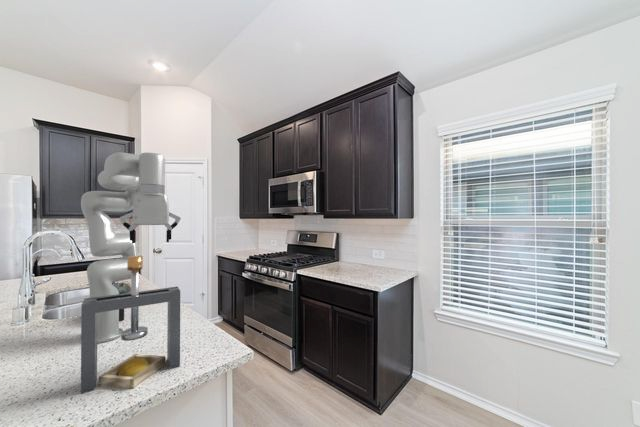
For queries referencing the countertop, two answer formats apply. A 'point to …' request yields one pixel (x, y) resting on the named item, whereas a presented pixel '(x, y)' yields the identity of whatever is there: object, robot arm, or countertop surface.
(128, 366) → the bread roll
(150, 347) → the countertop surface
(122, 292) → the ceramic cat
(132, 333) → the plunger
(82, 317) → the frame
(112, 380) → the cradle
